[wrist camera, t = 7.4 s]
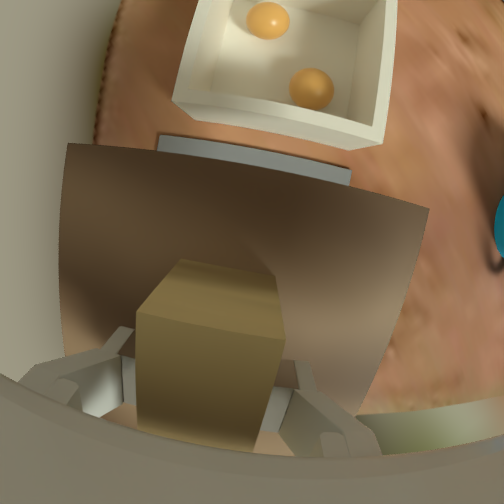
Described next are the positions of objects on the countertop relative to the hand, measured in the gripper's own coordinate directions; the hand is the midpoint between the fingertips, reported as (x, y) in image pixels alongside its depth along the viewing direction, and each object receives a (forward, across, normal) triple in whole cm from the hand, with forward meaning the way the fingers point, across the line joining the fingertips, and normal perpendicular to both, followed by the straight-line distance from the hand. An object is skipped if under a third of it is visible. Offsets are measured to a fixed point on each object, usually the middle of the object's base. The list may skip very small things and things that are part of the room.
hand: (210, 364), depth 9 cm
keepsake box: (+16, -1, -15) cm, 22 cm away
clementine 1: (+15, +1, -18) cm, 23 cm away
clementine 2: (+15, -3, -13) cm, 20 cm away
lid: (+2, 0, 0) cm, 2 cm away
